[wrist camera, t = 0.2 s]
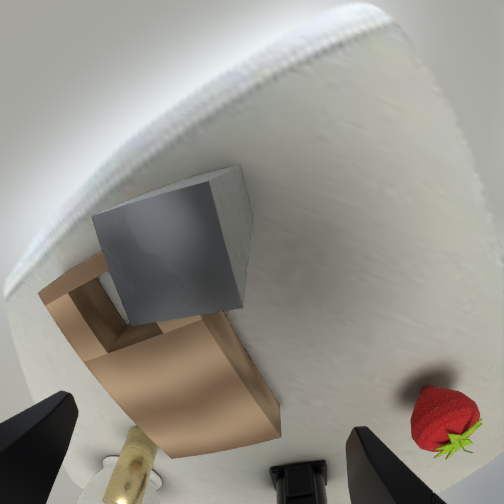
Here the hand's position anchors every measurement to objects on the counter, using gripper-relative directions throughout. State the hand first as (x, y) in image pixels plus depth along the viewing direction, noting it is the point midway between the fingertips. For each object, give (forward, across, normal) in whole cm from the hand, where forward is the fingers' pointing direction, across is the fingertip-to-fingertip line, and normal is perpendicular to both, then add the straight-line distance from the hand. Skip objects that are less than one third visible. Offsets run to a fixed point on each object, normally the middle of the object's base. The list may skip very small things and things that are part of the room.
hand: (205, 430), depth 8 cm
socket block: (+14, +5, +8) cm, 17 cm away
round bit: (+14, +9, +21) cm, 27 cm away
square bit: (+14, +2, -5) cm, 15 cm away
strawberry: (+14, -19, +12) cm, 27 cm away
